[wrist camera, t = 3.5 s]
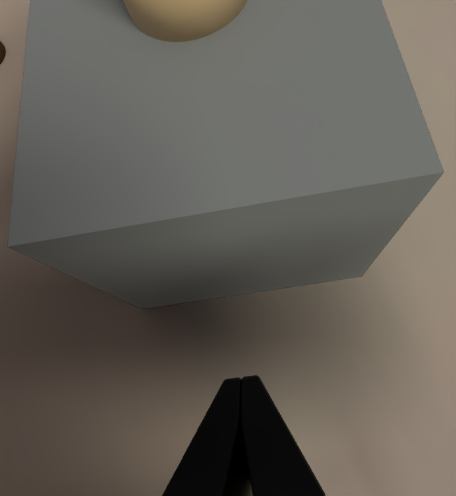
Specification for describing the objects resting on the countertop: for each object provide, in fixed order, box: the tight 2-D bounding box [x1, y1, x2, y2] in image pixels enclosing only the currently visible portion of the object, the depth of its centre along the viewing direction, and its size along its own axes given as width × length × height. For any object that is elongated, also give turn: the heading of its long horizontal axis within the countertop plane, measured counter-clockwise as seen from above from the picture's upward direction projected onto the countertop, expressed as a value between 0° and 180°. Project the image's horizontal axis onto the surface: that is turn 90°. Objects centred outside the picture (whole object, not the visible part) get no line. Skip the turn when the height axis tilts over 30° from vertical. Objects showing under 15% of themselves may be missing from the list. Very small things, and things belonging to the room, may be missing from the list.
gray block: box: [7, 0, 444, 309], centre depth 14 cm, size 14×10×11 cm
